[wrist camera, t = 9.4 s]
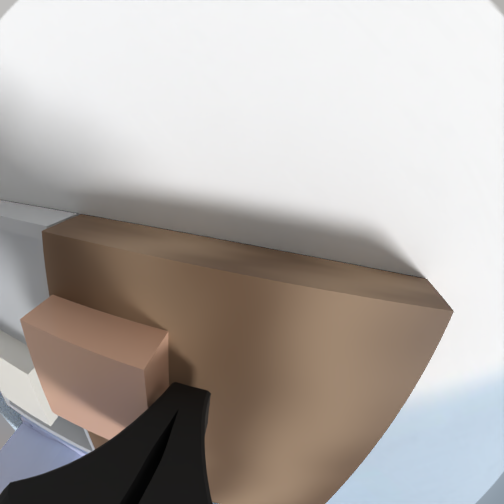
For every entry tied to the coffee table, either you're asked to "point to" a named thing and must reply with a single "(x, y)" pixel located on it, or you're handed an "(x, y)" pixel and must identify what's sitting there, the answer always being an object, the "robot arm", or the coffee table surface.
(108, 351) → the tile terracotta
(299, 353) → the board
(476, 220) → the coffee table surface
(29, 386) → the tile white
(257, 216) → the coffee table surface
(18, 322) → the tray
